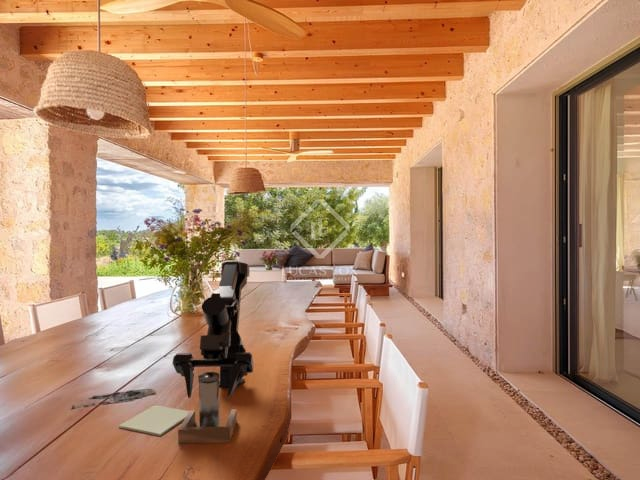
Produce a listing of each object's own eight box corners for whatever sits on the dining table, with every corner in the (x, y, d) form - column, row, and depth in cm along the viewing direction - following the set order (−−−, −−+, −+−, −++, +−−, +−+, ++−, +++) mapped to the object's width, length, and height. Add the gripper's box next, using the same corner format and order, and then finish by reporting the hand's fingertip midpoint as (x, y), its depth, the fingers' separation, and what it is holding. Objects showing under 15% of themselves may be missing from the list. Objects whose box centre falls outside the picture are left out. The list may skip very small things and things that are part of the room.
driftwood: (157, 391, 125) (156, 384, 125) (156, 400, 118) (156, 392, 118) (76, 402, 118) (76, 394, 118) (71, 412, 112) (71, 404, 112)
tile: (154, 406, 113) (154, 405, 113) (193, 413, 109) (192, 411, 109) (119, 427, 101) (118, 425, 101) (160, 436, 97) (160, 433, 97)
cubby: (190, 422, 104) (190, 410, 104) (236, 421, 105) (236, 409, 104) (178, 443, 94) (178, 429, 94) (229, 442, 95) (229, 428, 94)
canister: (206, 424, 103) (206, 371, 102) (223, 427, 101) (223, 373, 101) (194, 433, 99) (194, 377, 98) (212, 437, 97) (211, 380, 96)
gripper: (174, 320, 104) (159, 382, 93) (251, 319, 104) (246, 381, 94) (183, 343, 112) (171, 403, 101) (255, 343, 113) (250, 401, 102)
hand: (209, 397), depth 99 cm, fingers open, 9 cm apart
